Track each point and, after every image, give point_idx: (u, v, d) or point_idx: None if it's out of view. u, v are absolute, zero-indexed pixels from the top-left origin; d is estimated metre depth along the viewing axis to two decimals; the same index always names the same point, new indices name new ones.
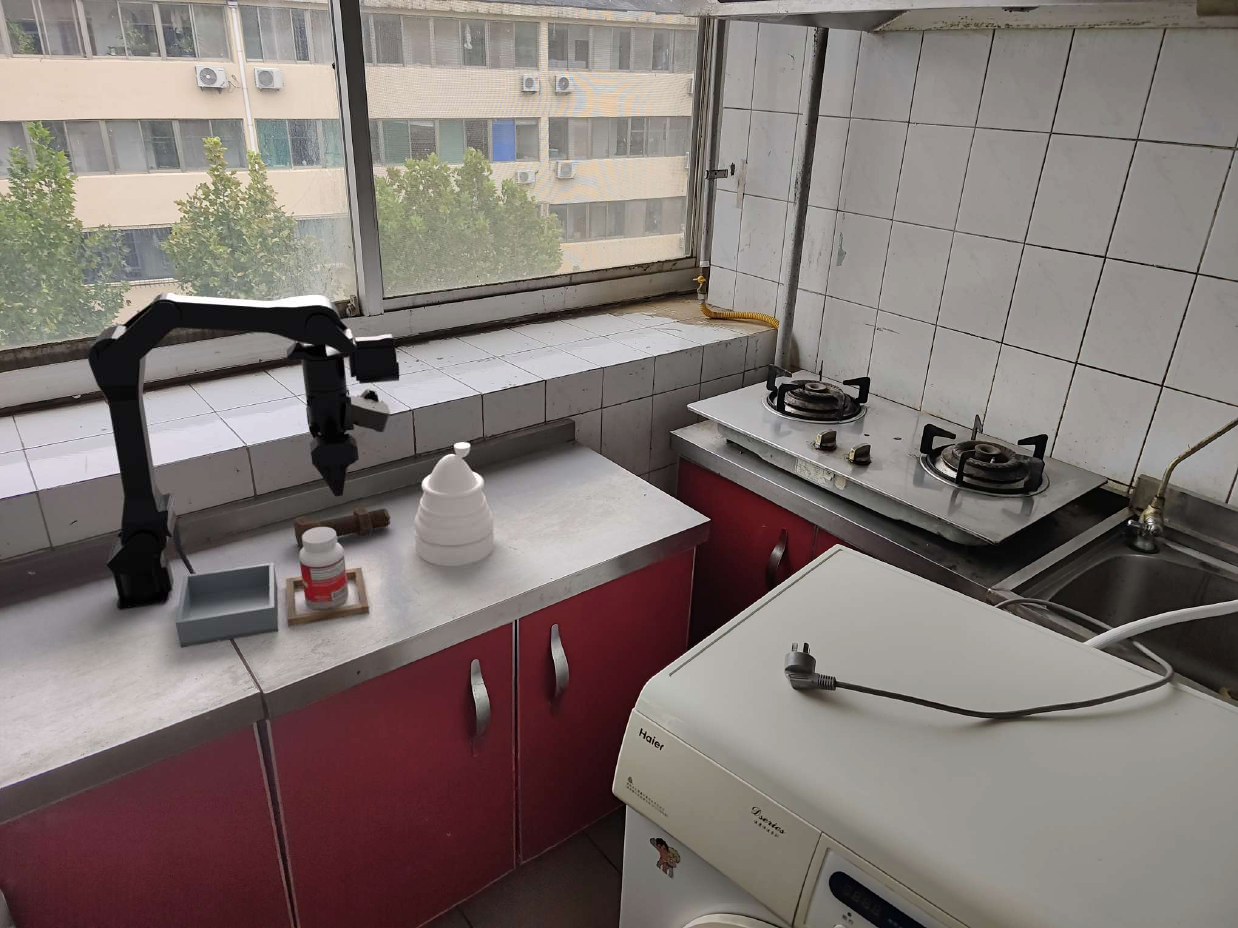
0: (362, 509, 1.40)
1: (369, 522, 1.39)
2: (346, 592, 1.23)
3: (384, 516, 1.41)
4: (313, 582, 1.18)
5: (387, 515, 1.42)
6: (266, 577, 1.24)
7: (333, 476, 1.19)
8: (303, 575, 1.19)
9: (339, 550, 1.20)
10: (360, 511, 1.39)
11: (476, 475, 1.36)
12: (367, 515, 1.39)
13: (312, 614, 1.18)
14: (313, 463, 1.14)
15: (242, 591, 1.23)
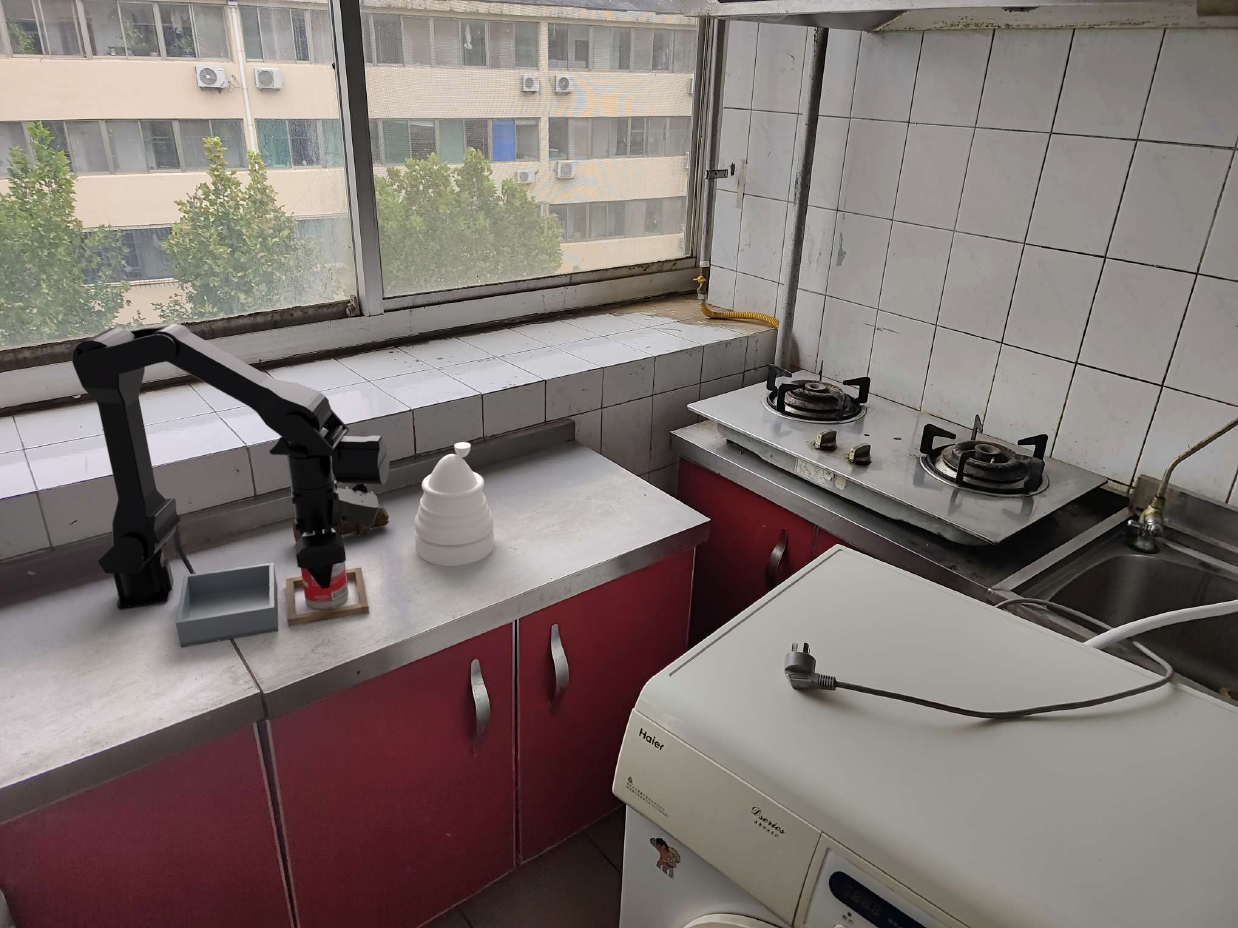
0: None
1: None
2: (346, 592, 1.23)
3: (383, 515, 1.41)
4: (313, 582, 1.18)
5: (385, 514, 1.42)
6: (266, 577, 1.24)
7: (319, 569, 1.16)
8: (303, 575, 1.19)
9: None
10: None
11: (476, 475, 1.36)
12: None
13: (312, 614, 1.18)
14: (298, 566, 1.10)
15: (242, 591, 1.23)
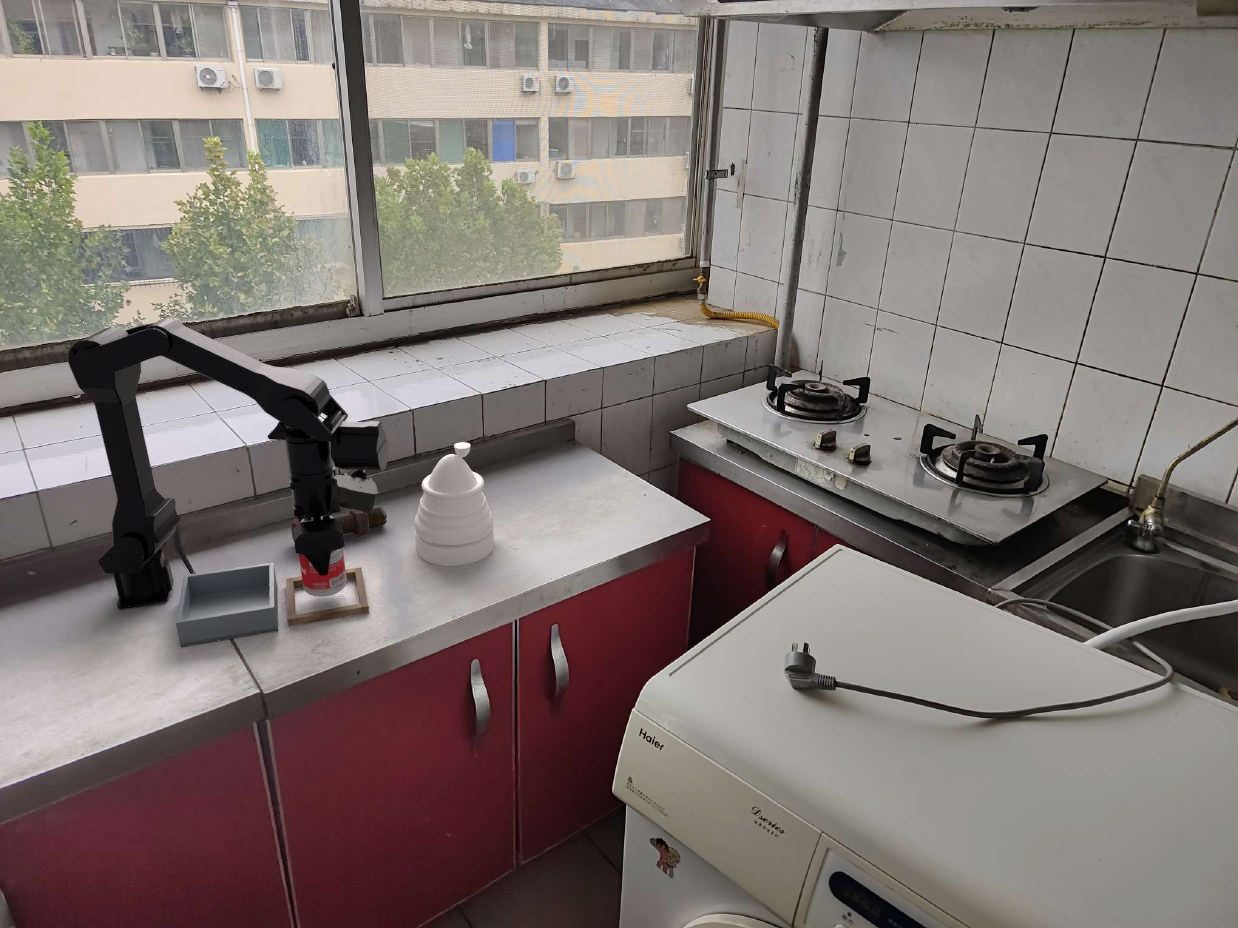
0: None
1: (367, 521, 1.39)
2: (344, 579, 1.22)
3: (381, 515, 1.42)
4: (311, 569, 1.18)
5: (384, 513, 1.42)
6: (266, 577, 1.24)
7: (317, 556, 1.15)
8: (301, 562, 1.18)
9: None
10: (357, 510, 1.40)
11: (476, 475, 1.36)
12: (364, 514, 1.39)
13: (312, 614, 1.18)
14: (296, 552, 1.09)
15: (242, 591, 1.23)
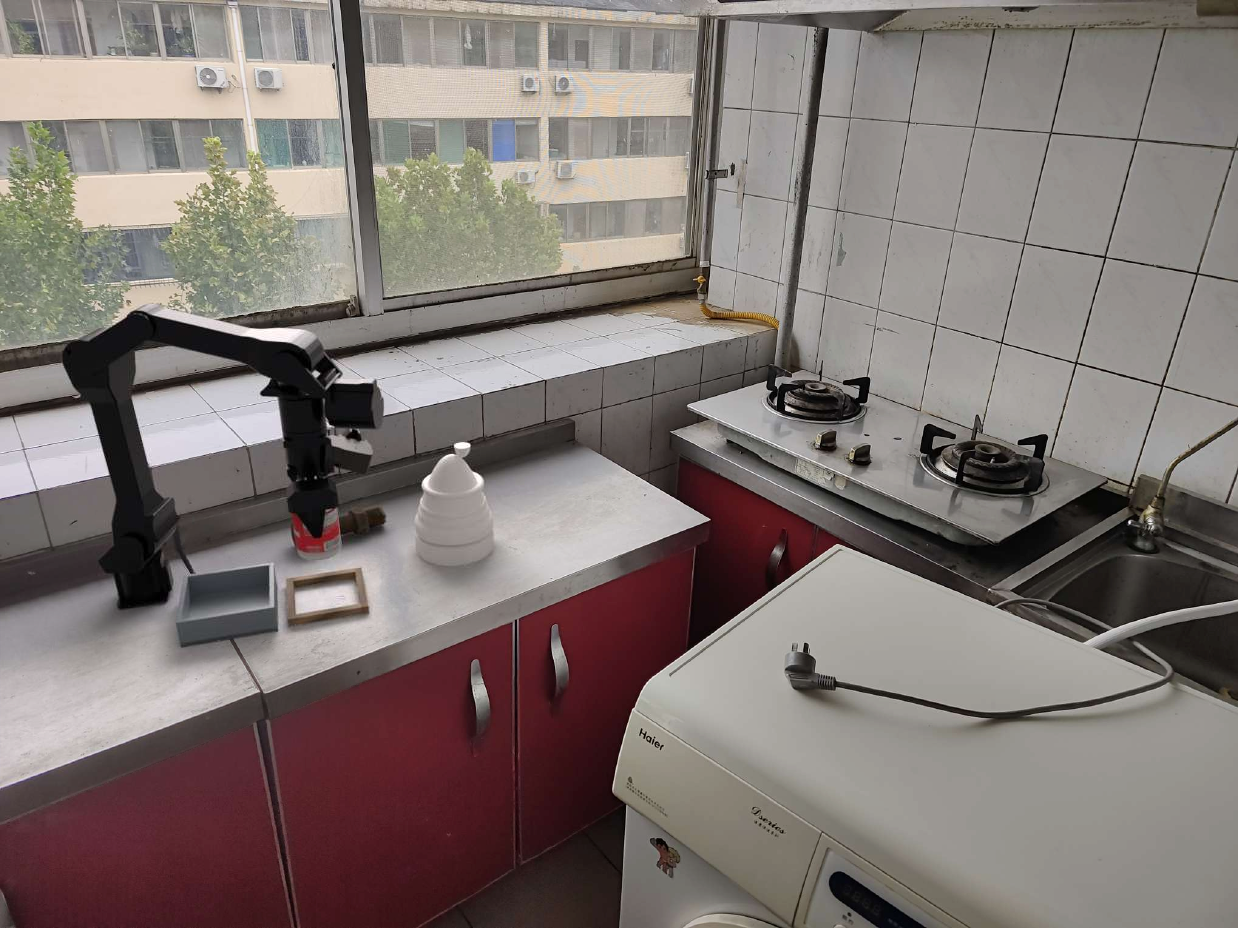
0: (358, 508, 1.40)
1: (366, 521, 1.39)
2: (339, 544, 1.19)
3: (380, 514, 1.42)
4: (305, 531, 1.15)
5: (383, 513, 1.42)
6: (266, 577, 1.24)
7: (311, 517, 1.12)
8: (295, 524, 1.15)
9: None
10: (356, 510, 1.40)
11: (476, 475, 1.36)
12: (364, 514, 1.39)
13: (312, 614, 1.18)
14: (289, 511, 1.06)
15: (242, 591, 1.23)
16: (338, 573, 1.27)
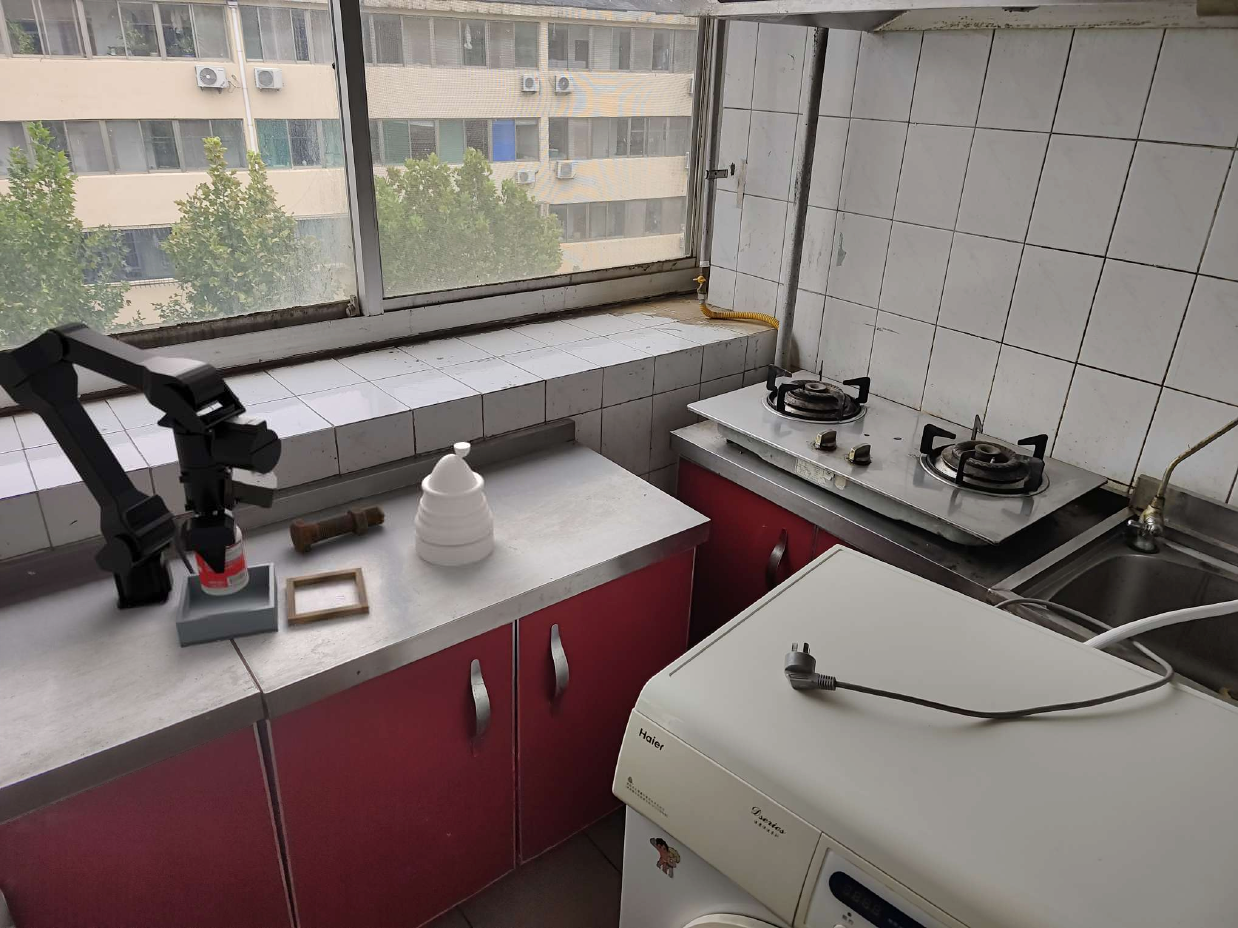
0: (357, 508, 1.41)
1: (365, 520, 1.39)
2: (245, 578, 1.16)
3: (379, 514, 1.42)
4: (207, 566, 1.12)
5: (381, 513, 1.42)
6: (266, 577, 1.24)
7: (211, 553, 1.10)
8: (197, 559, 1.13)
9: None
10: (355, 510, 1.40)
11: (476, 475, 1.36)
12: (363, 514, 1.39)
13: (312, 614, 1.18)
14: (183, 548, 1.03)
15: (242, 591, 1.23)
16: (338, 573, 1.27)
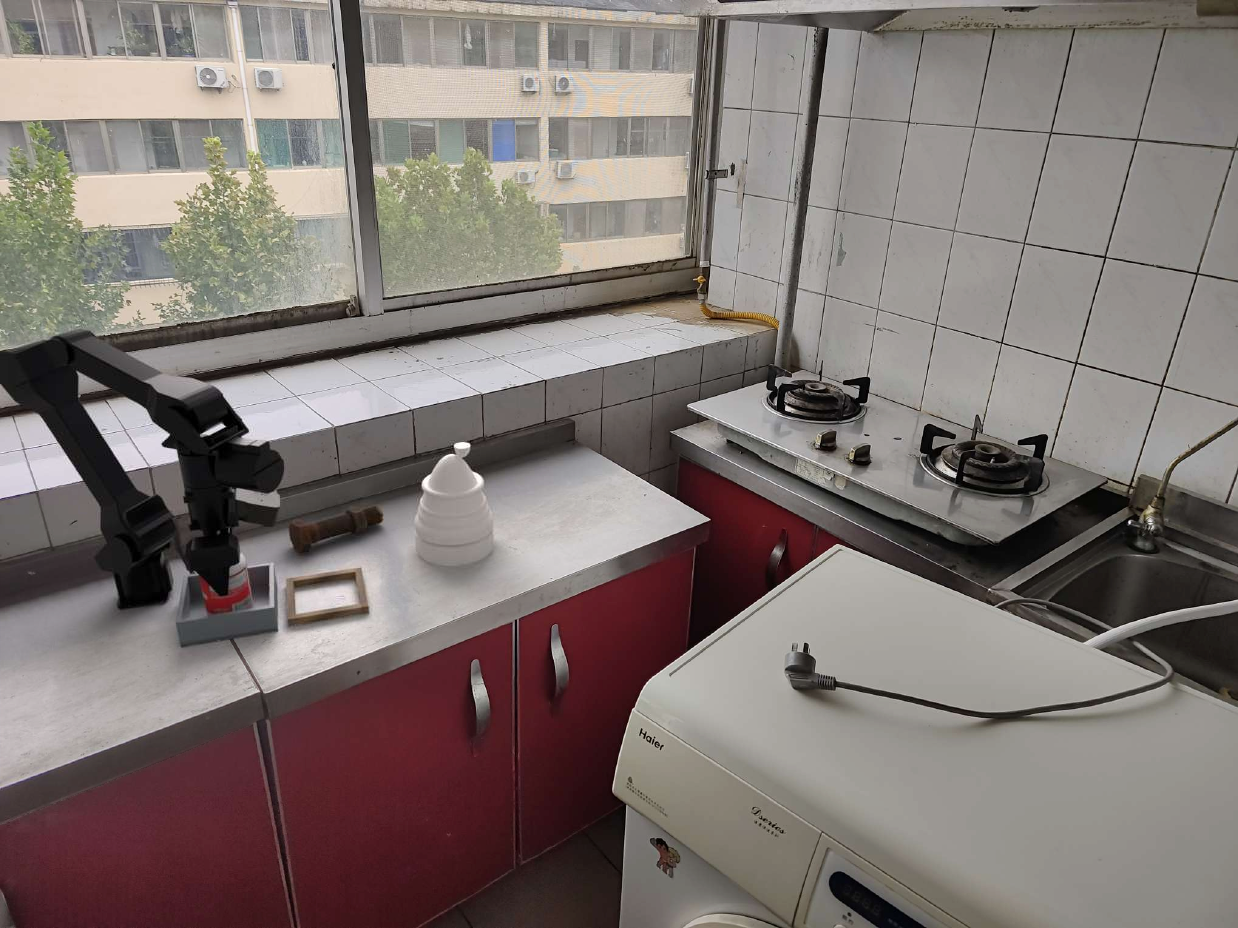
0: (355, 507, 1.41)
1: (364, 520, 1.40)
2: (250, 604, 1.18)
3: (377, 513, 1.42)
4: (212, 594, 1.14)
5: (380, 512, 1.42)
6: (266, 577, 1.24)
7: (214, 576, 1.10)
8: (202, 587, 1.14)
9: None
10: (354, 510, 1.40)
11: (476, 475, 1.36)
12: (362, 513, 1.40)
13: (312, 614, 1.18)
14: (187, 568, 1.05)
15: None
16: (338, 573, 1.27)
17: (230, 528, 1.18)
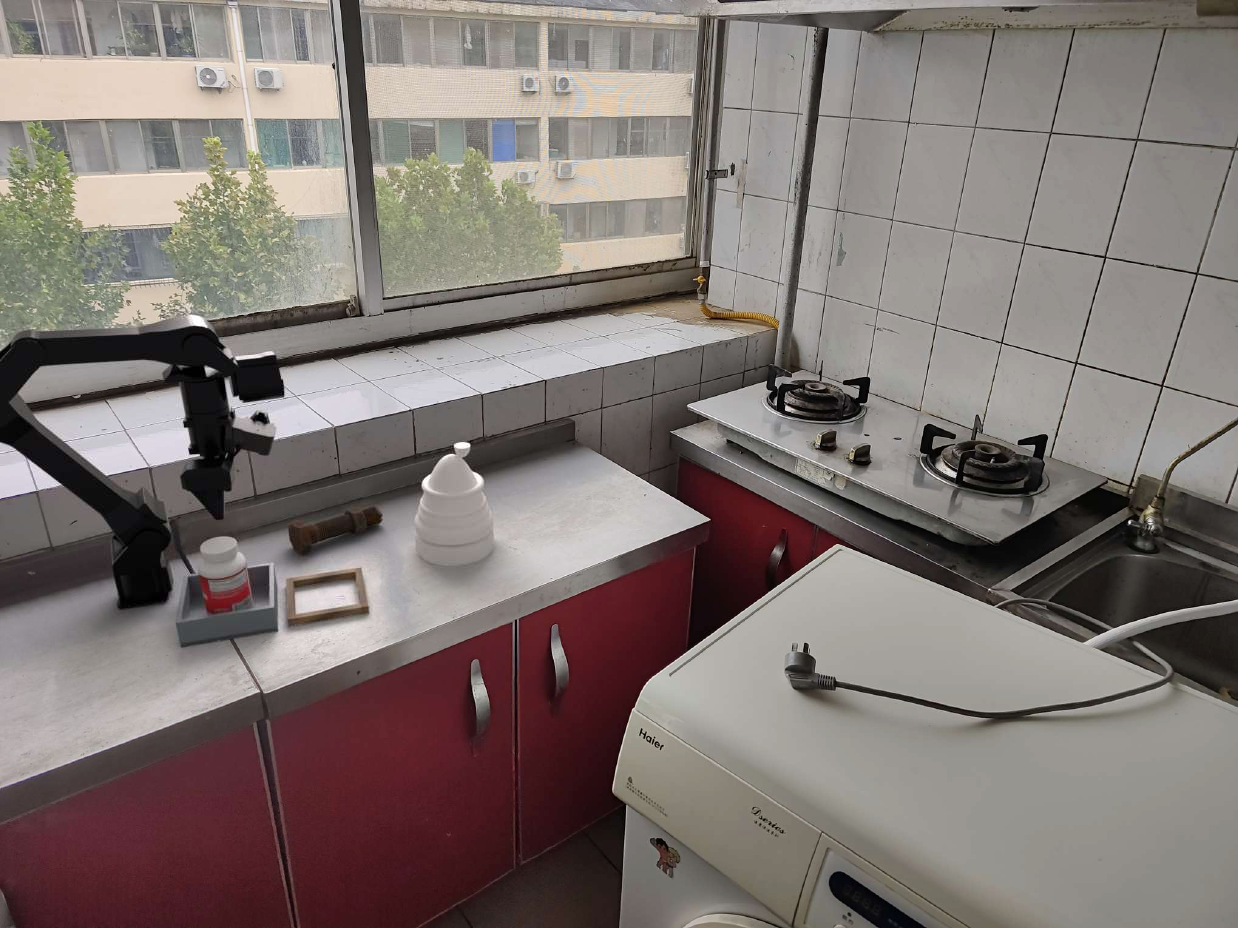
0: (355, 508, 1.41)
1: (364, 520, 1.40)
2: (250, 604, 1.18)
3: (377, 513, 1.42)
4: (212, 594, 1.14)
5: (379, 512, 1.43)
6: (266, 577, 1.24)
7: (210, 499, 1.16)
8: (202, 587, 1.14)
9: (240, 560, 1.15)
10: (353, 510, 1.40)
11: (476, 475, 1.36)
12: (361, 513, 1.40)
13: (312, 614, 1.18)
14: (183, 487, 1.11)
15: None
16: (338, 573, 1.27)
17: (231, 457, 1.25)
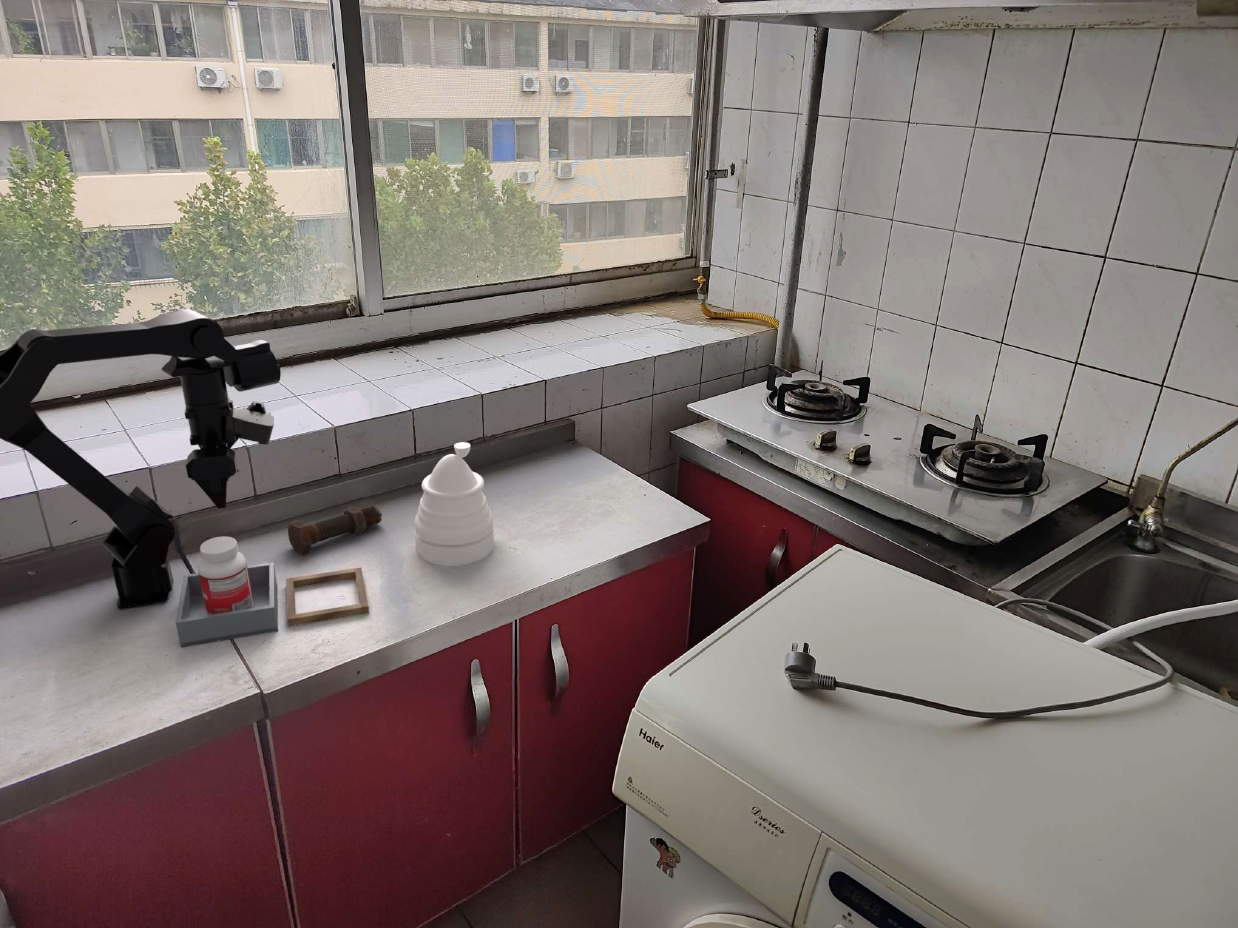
0: (354, 507, 1.41)
1: (363, 520, 1.40)
2: (250, 604, 1.18)
3: (376, 513, 1.42)
4: (212, 594, 1.14)
5: (378, 512, 1.43)
6: (266, 577, 1.24)
7: (213, 488, 1.20)
8: (202, 587, 1.14)
9: (239, 560, 1.15)
10: (353, 510, 1.40)
11: (476, 475, 1.36)
12: (361, 513, 1.39)
13: (312, 614, 1.18)
14: (188, 476, 1.15)
15: None
16: (338, 573, 1.27)
17: None
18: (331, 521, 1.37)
